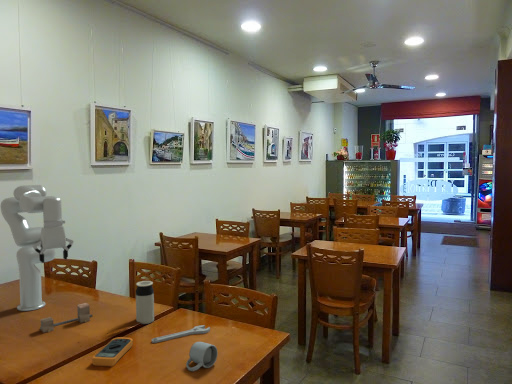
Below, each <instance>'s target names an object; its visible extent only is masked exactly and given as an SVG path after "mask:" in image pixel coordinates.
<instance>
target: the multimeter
mask: <svg viewBox="0 0 512 384" xmlns="http://www.w3.org/2000/svg"><path fill="white" fill-rule="evenodd" d="M133 341H134V340H133V338H131V337H122V336H120V337H118V336H117V337H115V338H112V339H111V340H110V341H109V342H108V343H107V344H106V345H105V346H104V347H102V349H100V350H99V351H98V352H97V353H96V354H94V355H93V356H92V358H91V361H92V362H91V363H92V365H93V366H98V367H114V366H116V364H117V363H118V361H120V359H122V357H123V356H124V355H125V354H126V353H127V352H128V351H129V350H130V349H132V347H133V344H134V343H133Z"/></svg>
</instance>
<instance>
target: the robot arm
mask: <svg viewBox="0 0 512 384" xmlns="http://www.w3.org/2000/svg"><path fill="white" fill-rule="evenodd" d="M0 202H1V203H0V212H1V215H2V218H3V219H4V220H5V222H6V223H7V224H8V226H9V228H10V232H11V235H12V237H13V240H14V241H13V242H14V243H15V245H16V246H17V247H19V249H18V250H17V251H16V253H15V254H16V260H17V265H18V274H19V275H18V277H19V296H20V297H19V298H20V299H19V301H20V302H19V305H17V306H16V310H18V311H20V312H29V311H35V310H39V309H42V308H43V307H45V306H46V302H45V301H43V299H42V297H43V296H42V295H43V294H42V273H41V270H40V268H38V266H36V265H37V264H45V263H48V262H51V261H53V260H54V259H55V257H56V249H61V248H62V249H63V251H62V257H63V259H64V260H67V259H68V257H69V249H71V248H72V246H73V244H74V242H75V241H74V240H73V239H71V238H70V239H69V238H68V237H66V236H67V235H66V231H65V228H64V226H63V225H64V224H66V220H63V219H62V217H63V215H62V212H63V211H62V198H60V197H56V196H52V195H51V196H49V195H47V191H46V188H45V187H44V186H42V185H41V184H35V185H34V184H30V185H19V186H17V187H16V188H14V189H13V196H12V197H8V198H3V200H2V201H0ZM21 213H28V214H38V213H39V214H40V213H42V218H43V219H42V220H43V226H36V227H35V226H34V227H31V226H30V224H29V221H28V220H27V218H26V217H24V216H23V215H21ZM67 242H68V244H67Z"/></svg>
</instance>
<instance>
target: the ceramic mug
mask: <svg viewBox="0 0 512 384" xmlns="http://www.w3.org/2000/svg"><path fill="white" fill-rule="evenodd" d="M218 353H219V352H218V348H217V347H216V346H215V344H211V343H207V342H203V341H195V342H194V343H193V344H192V345H191V347H190V349H189V353H188V355H189V358H188V360H187V361H186V363H185V364H186V366H185V367H186V368H187V370H188V371H190V372H196V371H197V370H199V369H200V368H201V367H203V368H205V369H209V368H211V367H213V366H214V365H215V363H216V362H217V359H218V355H219V354H218ZM192 362H193V363H196V365H195V366H193V367H191V366H190V364H191V363H192Z"/></svg>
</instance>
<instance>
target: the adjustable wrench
mask: <svg viewBox="0 0 512 384" xmlns="http://www.w3.org/2000/svg"><path fill="white" fill-rule="evenodd" d="M210 331H211V327H210V326H208V327H207V328H206V325H205V324H204V325H197V326H194V327H193V328H191V329H188V330H184V331H180V332H175V333H170V334H166V335H163V336H157V337H154V338H151V343H152V344H156V343H161V342H165V341H170V340H174V339H178V338H181V337H186V336H190V335H200V334H202V335H203V334H207V333H210Z"/></svg>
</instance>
